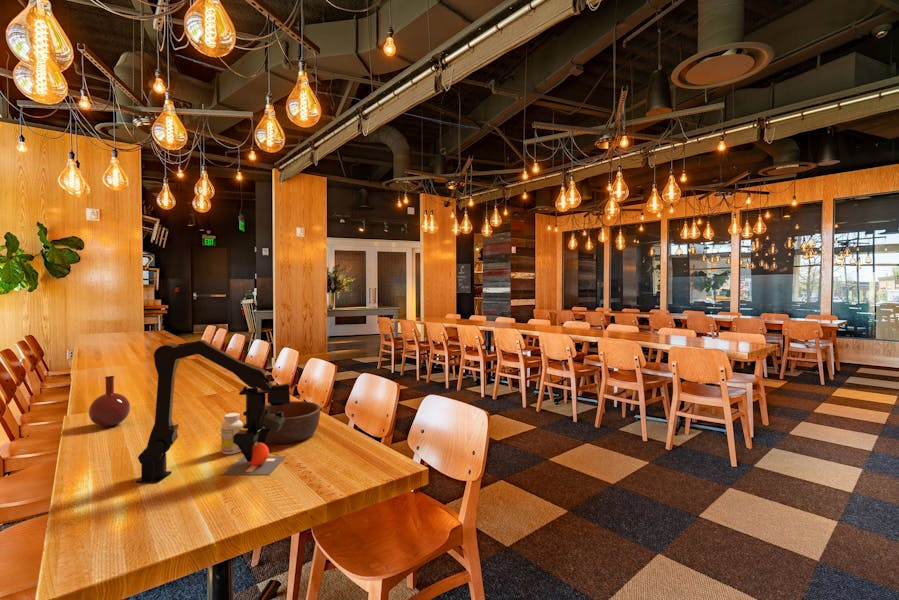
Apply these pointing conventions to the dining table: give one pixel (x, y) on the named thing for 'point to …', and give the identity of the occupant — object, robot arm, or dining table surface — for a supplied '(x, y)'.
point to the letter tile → (254, 467)
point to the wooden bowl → (295, 422)
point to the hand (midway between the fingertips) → (255, 455)
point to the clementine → (259, 454)
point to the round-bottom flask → (109, 406)
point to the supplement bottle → (230, 433)
